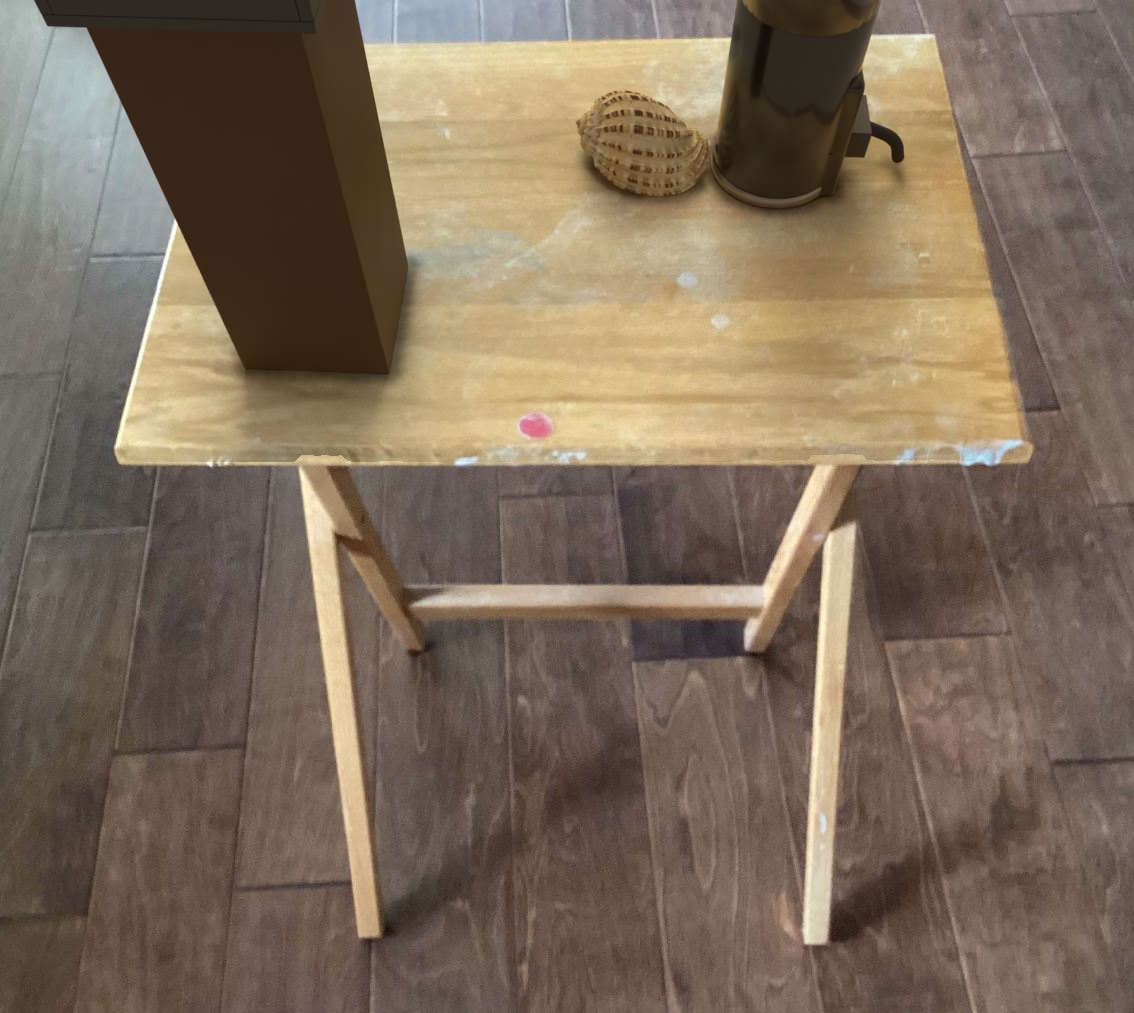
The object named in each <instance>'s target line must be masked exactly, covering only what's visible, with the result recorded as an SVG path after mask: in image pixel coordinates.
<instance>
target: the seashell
mask: <svg viewBox="0 0 1134 1013" xmlns="http://www.w3.org/2000/svg"><path fill="white" fill-rule="evenodd" d="M575 123H576V126H577V133H578V135H579V136H580V139H579V140H580V142H579V144H580V147H581V148H582V149H583V151H584V152H585V153H587V154H588V155H590V156H591V157H592V159H593V165H594V167H595V169H596V170H597V172H599V173H600V174H601V175H602V176H603V177H604V178H605V179H607V180H608V182H610V183H611V184H613V185H615V186H616V187H618V188H620V189H623V190H625V191H627V192H631V193H635V194H638V195H641V196H642V195H643V196H648V197H649V196H650V197H667V196H668V197H669V196H674V195H679V194H681V193H683V192H686V191H688V190H689V189H691V188H693V187H694V186H695V185H696V184H697V183H698V182H697V179H698V178H699V177H700V176H701V175H702V174H703V173H705V171H706V169H707V166H708V164H709V162H710V160H711V154H712V146H711V145H712V144H711V143H712V142H711V141H708V138H706V137H704V136H703V133H702V132H699V131H698V129H696V128H694V129H693V128H691V127H687V124H686V122H685V121H683V120H681V119H679V117H677V115H676V114H675V112H674V111H673V110H672V109H671V108H670V107H669V106H668V105H666V104H665V103H663V102H661V101H657V100H656V99H654V98H652V97H650V96H648V95H645V94H643V93H640V92H637V91H631V90H623V89H622V90H613V91H610V92H608V93H606V94H603V95H602V96H599V97H598V98H597V99H594V104H593V105H590V110H586V111H585V112H584V113H583V114H582V116H581V117H580V119H578V120H576V121H575Z"/></svg>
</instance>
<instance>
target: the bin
mask: <svg viewBox="0 0 1134 1013" xmlns="http://www.w3.org/2000/svg"><path fill="white" fill-rule="evenodd" d="M33 1H34V3H35V5H36V7H37V9H38V12H39V13H40V15H41V16H42V19H43V21H44V23H45V25H46V26H47V27H48V28H49V27H50V28H51V27H53V28H55V27H56V28H57V27H58V28H84V29H85V28H86V29H87V33H88V35H89V36H90V39H91V41H92V43H93V45H94V47H95V50H96V52H97V54H98V56H99V58H100V61H101V63H102V65H103V67H104V69H105V71H106V73H107V76H108V77H109V79H110V82H111V84H112V87H113V88H114V91H115V92H116V95H117V97H118V99H119V101H120V103H121V106H122V108H123V110H124V112H125V114H126V116H127V118H128V121H129V123H130V125H131V127H132V130H133V131H134V134H135V136H136V139H137V140H138V142H139V145H140V146H141V149H142V151H143V153H144V155H145V157H146V159H147V161H148V164H149V166H150V168H151V170H152V172H153V175H154V177H155V178H156V180H157V183H158V186H159V187H160V189H161V192H162V194H163V196H164V198H165V200H166V203H167V205H168V207H169V209H170V211H171V213H172V215H173V218H174V220H175V222H176V224H177V226H178V228H179V230H180V232H181V235H182V237H183V239H184V242H185V244H186V245H187V248H188V250H189V252H190V254H191V256H192V259H193V261H194V263H195V266H196V267H197V270H198V271H199V274H200V275H201V279H202V280H203V283H204V284H205V287H206V288H207V290H208V293H209V295H210V297H211V299H212V301H213V304H214V305H215V308H216V310H217V312H218V314H219V317H220V318H221V321H222V323H223V325H224V328H225V329H226V330H225V331H226V332H227V334H228V336H229V338H230V340H231V342H232V344H233V347H234V349H235V351H236V354H237V356H238V357H239V360H240V362H241V364H242V366H243V368H244V369H256V370H257V369H258V370H280V371H281V370H282V371H283V370H284V371H307V372H309V371H311V372H335V373H336V372H337V373H339V372H340V373H359V374H360V373H363V374H364V373H367V374H390V371H391V367H392V360H393V355H394V350H395V343H396V338H397V332H398V326H399V320H400V314H401V310H402V303H403V299H404V298H403V296H404V292H405V286H406V281H407V274H408V268H409V263H408V257H407V252H406V246H405V243H404V236H403V232H402V227H401V222H400V217H399V213H398V212H399V211H398V207H397V203H396V197H395V193H394V186H393V183H392V178H391V173H390V168H389V163H388V162H389V161H388V158H387V152H386V148H385V142H384V137H383V133H382V127H381V124H380V123H381V122H380V119H379V112H378V108H377V104H376V103H377V102H376V99H375V94H374V87H373V84H372V78H371V73H370V69H369V64H368V57H367V52H366V48H365V43H364V39H363V35H362V34H363V33H362V28H361V24H360V19H359V15H358V9H357V8H358V7H357V3H356V0H33Z"/></svg>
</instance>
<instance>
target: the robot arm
mask: <svg viewBox="0 0 1134 1013" xmlns="http://www.w3.org/2000/svg"><path fill="white" fill-rule="evenodd" d="M881 3H882V0H736V4H735V5H736V6H735V11H734V18H733V24H732V30H731V36H730V44H729V51H728V57H727V62H726V69H725V77H724V83H723V89H722V95H721V102H720V108H719V113H718V114H719V115H718V121H717V128H716V132H715V136H714V143H713V146H712V150H711V156H710V165H711V171H712V173H713V175H714V178H715V180H716V181H717V183H718V184H719V185H720V186H721V187H722V189H723V190H725V191H726V192H727V193H729V194H730V195H731V196H733V197H734V198H737V199H739V200H740V201H742V202H745V203H748V204H750V205H754V206H757V207H762V208H769V209H785V208H794V207H798V206H801V205H804V204H807V203H809V202H811V201H813V200H815V199H817V198H818V197H819V196H820V197H821V196H833V195H834V193H835V190H836V187H837V184H838V180H839V178H840V173H841V170H842V167H843V165H844V161H845V158H856V159H858V158H859V159H861V158H862V159H865V157H866V154H867V151H868V149H869V145H870V142H871V138H876V139H878V140H880V141H883V142H884V143H886V144H887V145H888V146H889V147H890V153H891V154H890V155H891V161H892V163H894V164H900V163H901V162H903V161H904V160H905V146H904V142H903V140H902V139H901V137H900V135H899V134H898V133H897V132H895V131H894V130H892V129H891V128H889V127H887V126H884V125H881V124H878V123H876V122H873V121H871V118H870V112H869V105H868V104H869V103H868V98H867V94H865V90H866V80H865V76H864V69H863V67H864V66H863V65H864V62H865V58H866V55H867V51H868V48H869V44H870V41H871V38H872V34H873V31H874V27H875V25H876V20H877V17H878V14H879V10H880V7H881Z"/></svg>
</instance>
